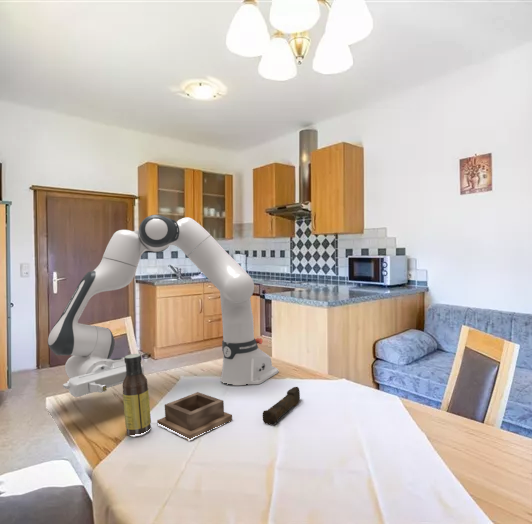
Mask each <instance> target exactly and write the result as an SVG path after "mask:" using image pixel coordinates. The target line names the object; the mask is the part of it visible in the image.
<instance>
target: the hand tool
mask: <svg viewBox="0 0 532 524" xmlns="http://www.w3.org/2000/svg"><path fill="white" fill-rule="evenodd" d="M300 400H301V393H300V388H299V387H298V386H294V387H292V388H289V389H288V390H287V391H286V395H285V396H284V397H282V398H281V399H280V400H278V402H276V403H275V404H272V406H271V407H270V408H268V409H266V410H263V411H262V421H263V423H264V424H266V425H269V426H274V425H276V423H278V420H279V419H280V418H281V417H283V415H284V414H287V412H288V411H289V410H291V408H292V407H293V408H294V407H297V405H298V404H299V402H300Z"/></svg>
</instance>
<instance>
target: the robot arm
mask: <svg viewBox="0 0 532 524" xmlns="http://www.w3.org/2000/svg"><path fill="white" fill-rule="evenodd" d="M170 246H175V247H177V248H178V249H180V250H181V251H182V252H183V253H184V254H185V256H186V257H187V258H189V260H190V261H191V262H192V263H193V264H194V265H195V266H196V268H198V269H199V270H200V272H202V273H203V275H204V276H205V277H206V279H208V280H209V281H210V282H211V284H212V285H213V286H215V288H216V289H217V290H218V291H219V294H220V295H219V297H220V307H221V308H220V309H221V319H222V323H221V324H222V338H223V339H222V342H221V343H222V345H221V346H222V354H223V355H222V357H223V358H222V367H221V376H220V379H221V381H222V382H224V383H227V384H226V385H228V384H233V385H232V386H247V385H246V384H248V385H261V384H262V383H264V382H266V381H267V380H269V379H270V378H272V377H273V376H275V375H276V374H278V373H279V372H280V370H279V369H278V368H277V367H275V366H273V363H272V358H271V356H270V355H269V354H267V353H266V352H264V351H263V350H262V349H260V348H259V346H258V345H262V344H263V339H262V338H259V337H257V338H255V333H254V332H255V330H254V329H255V328H254V327H255V326H254V314H253V308H252V302H251V298H252V296H253V294H254V291H255V283H254V280H253V278H252V277H251V275H250V274H249V273H248V272H247V271H246V270H245V269H244V268H243V267H242V266H241V265H240V264H239V263H238V262H237V260H235V259H234V258H233V257H232V256H231V255H230V254H229V253H228V252H227V251H226V250H225V248H223V247H222V246H221V245H220V243H219V242H218V241H217V240H216V239H215V238H214V237H213V236H212V235H211V234H210V233H209V232H208V231H207V230H206V229H205V228H204V227H203V225H201V224H200V223H199V222H197V221H196V220H195V219H194V218H191V217H188V216H187V217H183V218H180V219H178V220H175V219H172V218H169V217H167V216H164V215H161V214H150V215H149V216H146V217H145V218H144V219H143V220H141V222H140V224H139V227H138V229H137V230H135V231H134V230H129V229H119V230H117V231H115V232H114V233H113V234H112V236H111V238H110V240H109V241H108V243H107V245H106V248H105V251H104V253H103V255H102V258H101V261H100V263H99V264H98V266H96V268H94V270H92V271H88V272H86V273H85V274H84V276H83V277H82V279H81V280H80V281H79V283H78V285H77V286H76V288H75V290H74V292H73V293H72V296H71V297H70V299H69V301H68V303H67V304H66V307H64V310H63V312H62V314H61V315H60V316H59V318H58V320H56V323H54V326H53V327H52V328H51V330H50V332H49V334H48V338H47V345H48V347H49V349H50V351H51V352H53V354H55V356H70V357H69V358H68V359H67V360H66V362H65V365H64V370H65V374H66V375H67V377H68V378H69V379H68V381H66V382H65V383H63V384H62V388H63V389H65V390H68V392H69V394H70V395H71V396H72V397H73V398H74V397H75V398H78V397H80V398H81V397H83V396H86V395H90V394H92V393H100V394H101V393H104V392H107V389H109V388H112V387H115V386H119V385H123V381H124V379H125V377H126V363H125V357H115V358H111V357H112V354H113V352H114V349H115V344H116V343H115V336H114V334H113V332H112V331H111V329H109V328H108V327H104V326H98V325H91V324H85V323H80V322H79V320H80V318H81V316H82V314H83V312H84V310H85V308H86V307H87V305H88V303H89V301H90V299H92V297H93V296H95V295H98V294H99V293H103V292H109V291H110V292H111V291H117V290H120V289H123V288H125V287H127V286H128V285H130V284H131V283H132V282H133V280H134V278H135V274H136V272H137V270H138V266H139V262H140V259H141V257H142V255H143V254H146V253H148V254H149V253H151V254H152V253H153V254H154V253H155V254H156V253H158V254H159V253H162V252H164V251H165V250H166V249H168V248H169V247H170ZM141 368H142V373H143V374H144V375H145V367H144V365H143V364H142V363H141ZM221 381H220V382H221ZM222 382H221V383H222ZM224 383H223V384H224Z"/></svg>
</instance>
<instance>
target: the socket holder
mask: <svg viewBox="0 0 532 524" xmlns="http://www.w3.org/2000/svg"><path fill="white" fill-rule="evenodd" d="M224 403H225V402H224V400H223V399H220V398H216V397H213V396H211V395H208V394H205V393H202V392H199V391H197V392H194V393H191V394H189V395H186V396H183V397H181V398H178V399H176V400H173V401H170V402H169V403H166V404H164V417H162V418H160V419H157V423H159V424H161V425H163V426H165V427H167V428H169V429H171V430H173V431H175V432H177V433H179V434H181V435H183V436H185V437H187V438H189V439H191V438H193V437H195V436H198V435H200V434H202V433H204V432H207V431H209V430H211V429H213V428H215V427H218V426H220V425H222V424H224V423H226V422H228V423H230V422H232V421H233V414H231V413H228V412H225V404H224ZM231 420H232V421H231ZM229 421H230V422H229ZM157 423H156V424H157ZM226 424H227V423H226ZM224 425H225V424H224ZM222 426H223V425H222ZM220 427H221V426H220ZM218 428H219V427H218Z"/></svg>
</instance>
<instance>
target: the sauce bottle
mask: <svg viewBox="0 0 532 524" xmlns="http://www.w3.org/2000/svg"><path fill="white" fill-rule="evenodd" d="M124 358H125V363H126V377H125V379H124V381H123V383H122V400H123V402H122V403H123V412H124V413H123V415H124V423H125V429H126V431H125V432H126V435H127V436H128V435H135V434H141V433H144V432H146V431H148V430H149V429H150V428H151V429H152V427H151V426H152V424H151V423H152V418H151V406H150V403H151V402H150V394H149V387H148V379H147V377H146V376H145V373H144V374H143V373H142V368H141V364H142V354H140V353H131V354H127V355H125V356H124ZM151 429H150V430H151Z"/></svg>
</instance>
